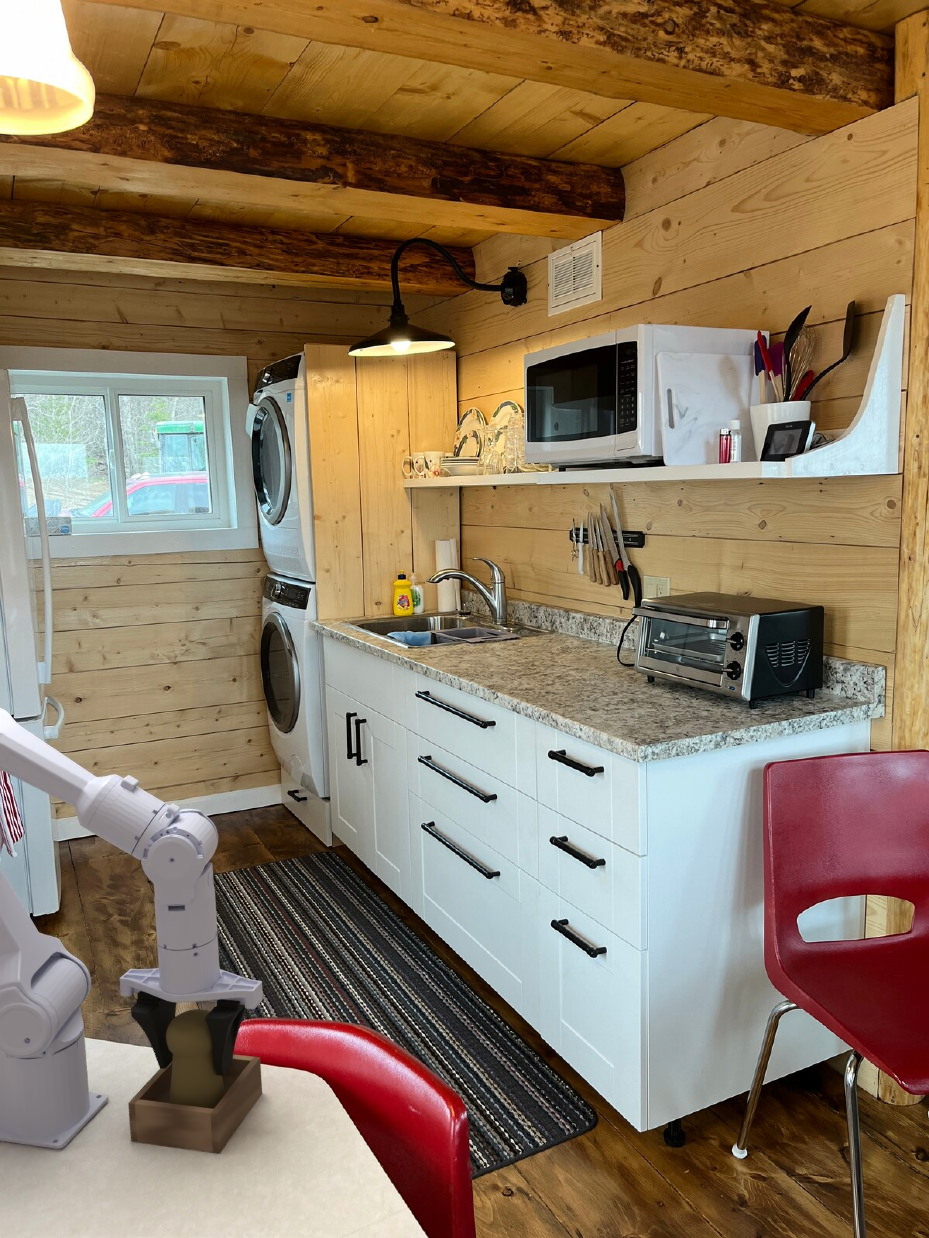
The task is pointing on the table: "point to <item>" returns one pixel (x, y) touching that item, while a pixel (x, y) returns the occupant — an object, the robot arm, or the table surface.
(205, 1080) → the olive game pawn
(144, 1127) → the walnut stand
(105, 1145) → the table surface
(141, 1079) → the table surface
